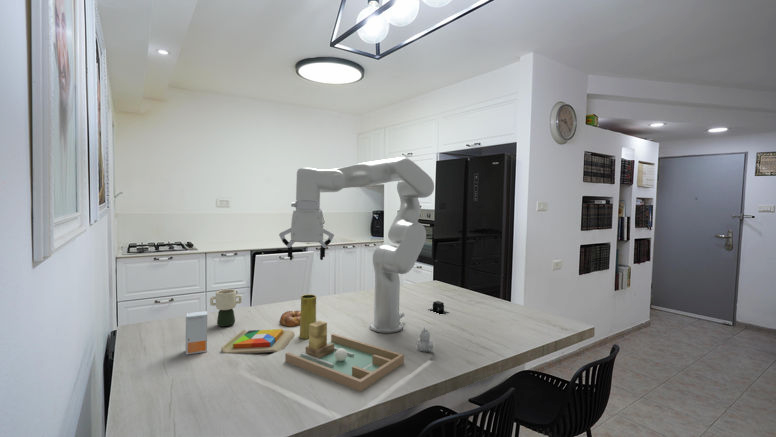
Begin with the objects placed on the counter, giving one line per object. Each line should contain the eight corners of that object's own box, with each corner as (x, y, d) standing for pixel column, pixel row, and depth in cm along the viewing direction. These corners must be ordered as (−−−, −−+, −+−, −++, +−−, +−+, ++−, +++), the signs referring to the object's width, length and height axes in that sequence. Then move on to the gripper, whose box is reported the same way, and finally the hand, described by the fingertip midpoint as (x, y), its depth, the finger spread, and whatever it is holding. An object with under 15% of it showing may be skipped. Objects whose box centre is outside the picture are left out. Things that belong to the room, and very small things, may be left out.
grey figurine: (425, 347, 121) (425, 323, 121) (438, 354, 116) (439, 329, 115) (412, 350, 118) (413, 326, 118) (425, 358, 113) (426, 332, 112)
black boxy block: (454, 314, 158) (454, 304, 158) (442, 317, 154) (442, 307, 154) (434, 307, 168) (434, 298, 168) (422, 310, 164) (422, 300, 164)
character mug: (241, 320, 144) (241, 288, 144) (241, 326, 138) (241, 292, 137) (210, 323, 140) (210, 290, 139) (209, 329, 133) (209, 294, 133)
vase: (312, 340, 125) (313, 299, 125) (296, 338, 127) (296, 297, 126) (319, 333, 131) (320, 294, 131) (303, 332, 133) (304, 293, 132)
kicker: (320, 346, 116) (320, 319, 116) (334, 351, 113) (334, 322, 113) (303, 354, 111) (303, 324, 110) (317, 359, 107) (317, 329, 107)
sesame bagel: (303, 328, 138) (303, 318, 138) (274, 327, 138) (274, 318, 138) (310, 317, 150) (310, 309, 150) (284, 317, 150) (284, 308, 150)
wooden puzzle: (243, 334, 131) (243, 324, 131) (295, 335, 131) (295, 326, 130) (219, 354, 114) (219, 343, 114) (279, 356, 113) (279, 345, 113)
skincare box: (185, 355, 111) (185, 316, 111) (185, 350, 115) (185, 312, 115) (207, 352, 114) (207, 314, 114) (207, 347, 118) (207, 310, 117)
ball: (340, 357, 109) (340, 345, 109) (349, 360, 107) (349, 348, 107) (332, 361, 106) (332, 349, 106) (341, 364, 104) (341, 352, 104)
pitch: (333, 344, 122) (333, 333, 122) (403, 366, 106) (404, 354, 106) (285, 365, 106) (285, 353, 106) (360, 396, 90) (360, 382, 90)
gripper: (279, 205, 112) (278, 261, 112) (336, 207, 116) (334, 261, 117) (280, 205, 119) (278, 257, 120) (333, 207, 123) (332, 257, 124)
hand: (306, 259), depth 118 cm, fingers open, 9 cm apart
